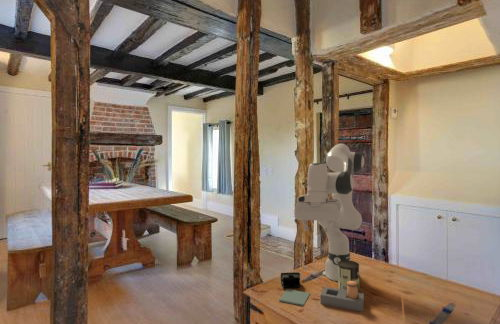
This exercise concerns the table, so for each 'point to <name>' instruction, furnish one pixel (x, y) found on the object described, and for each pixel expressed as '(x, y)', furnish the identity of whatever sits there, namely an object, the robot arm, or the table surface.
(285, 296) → the mat
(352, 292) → the plug
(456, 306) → the table surface
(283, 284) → the end cap
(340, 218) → the robot arm
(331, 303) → the grey holed block
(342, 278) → the coffee can
